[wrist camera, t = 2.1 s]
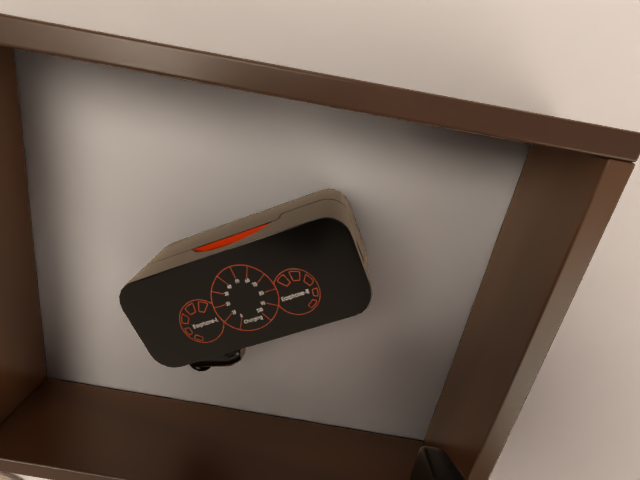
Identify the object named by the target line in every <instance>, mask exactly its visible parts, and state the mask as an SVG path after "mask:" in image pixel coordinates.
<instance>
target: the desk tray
mask: <svg viewBox="0 0 640 480" xmlns="http://www.w3.org/2000/svg"><path fill="white" fill-rule="evenodd" d="M14 48H15V49H20V50H25V51H31V52H36V53H42V54H47V55H53V56H58V57H63V58H69V59H74V60H80V61H85V62H90V63H96V64H101V65H107V66H112V67H117V68H123V69H128V70H134V71H139V72H145V73H150V74H155V75H161V76H166V77H172V78H177V79H182V80H188V81H193V82H199V83H204V84H209V85H215V86H220V87H226V88H231V89H237V90H242V91H247V92H253V93H258V94H264V95H269V96H274V97H280V98H285V99H291V100H296V101H301V102H307V103H312V104H318V105H323V106H329V107H334V108H339V109H345V110H350V111H356V112H361V113H366V114H372V115H377V116H383V117H388V118H393V119H399V120H404V121H410V122H415V123H421V124H426V125H431V126H437V127H442V128H448V129H453V130H458V131H464V132H469V133H475V134H480V135H485V136H491V137H496V138H502V139H507V140H513V141H518V142H523V143H529V144H532V145H531V148H530V151H529V154H528V156H527V159H526V162H525V165H524V167H523V170H522V173H521V176H520V178H519V181H518V184H517V187H516V189H515V192H514V195H513V198H512V200H511V203H510V206H509V209H508V211H507V214H506V217H505V220H504V222H503V225H502V228H501V231H500V233H499V236H498V239H497V242H496V244H495V247H494V250H493V253H492V255H491V258H490V261H489V264H488V266H487V269H486V272H485V275H484V277H483V280H482V283H481V286H480V288H479V291H478V294H477V297H476V299H475V302H474V305H473V308H472V310H471V313H470V316H469V319H468V321H467V324H466V327H465V330H464V332H463V335H462V338H461V341H460V343H459V346H458V349H457V352H456V354H455V357H454V360H453V363H452V365H451V368H450V371H449V374H448V376H447V379H446V382H445V385H444V387H443V390H442V393H441V396H440V398H439V401H438V404H437V407H436V409H435V412H434V415H433V418H432V420H431V423H430V426H429V429H428V431H427V434H426V437H425V440H424V442H423V441H417V440H411V439H405V438H399V437H393V436H387V435H381V434H375V433H369V432H363V431H358V430H352V429H346V428H340V427H334V426H328V425H322V424H316V423H310V422H304V421H298V420H292V419H287V418H281V417H275V416H269V415H263V414H257V413H251V412H245V411H239V410H233V409H227V408H221V407H216V406H210V405H204V404H198V403H192V402H186V401H180V400H174V399H168V398H162V397H156V396H150V395H145V394H139V393H133V392H127V391H121V390H115V389H109V388H103V387H97V386H91V385H85V384H79V383H74V382H68V381H62V380H56V379H50V378H46V377H47V372H46V362H45V353H44V343H43V333H42V323H41V313H40V303H39V294H38V284H37V274H36V264H35V254H34V244H33V234H32V225H31V215H30V205H29V195H28V185H27V175H26V165H25V156H24V146H23V136H22V126H21V116H20V106H19V97H18V87H17V77H16V67H15V57H14ZM639 155H640V132H634V131H629V130H623V129H618V128H613V127H607V126H602V125H597V124H591V123H586V122H581V121H575V120H570V119H564V118H559V117H554V116H548V115H543V114H538V113H532V112H527V111H521V110H516V109H511V108H505V107H500V106H495V105H489V104H484V103H479V102H473V101H468V100H462V99H457V98H452V97H446V96H441V95H436V94H430V93H425V92H420V91H414V90H409V89H403V88H398V87H393V86H387V85H382V84H377V83H371V82H366V81H360V80H355V79H350V78H344V77H339V76H334V75H328V74H323V73H318V72H312V71H307V70H301V69H296V68H291V67H285V66H280V65H275V64H269V63H264V62H259V61H253V60H248V59H242V58H237V57H232V56H226V55H221V54H216V53H210V52H205V51H199V50H194V49H189V48H183V47H178V46H173V45H167V44H162V43H157V42H151V41H146V40H140V39H135V38H130V37H124V36H119V35H114V34H108V33H103V32H98V31H92V30H87V29H81V28H76V27H71V26H65V25H60V24H55V23H49V22H44V21H39V20H33V19H28V18H22V17H17V16H12V15H6V14H1V13H0V471H3V472H9V473H15V474H21V475H27V476H33V477H39V478H46V479H52V480H410V475H411V471H412V469H413V466H414V463H415V460H416V458H417V455H418V452H419V450H420V448H421V447H422V446H430V447H436V448H440V449H442V450H444V451H445V452H446V453H447V455H448V456H449V457H450V459H451V460H452V461H453V463H454V464H455V465H456V467H457V468H458V469H459V471H460V472H461V473H462V474H463V476H464V477H465V478H466V480H488V479H489V477H490V475H491V473H492V471H493V468H494V466H495V464H496V462H497V460H498V458H499V456H500V453H501V451H502V449H503V447H504V445H505V443H506V441H507V438H508V436H509V434H510V432H511V430H512V428H513V426H514V423H515V421H516V419H517V417H518V415H519V413H520V411H521V408H522V406H523V404H524V402H525V400H526V398H527V396H528V393H529V391H530V389H531V387H532V385H533V383H534V381H535V378H536V376H537V374H538V372H539V370H540V368H541V366H542V363H543V361H544V359H545V357H546V355H547V353H548V351H549V348H550V346H551V344H552V342H553V340H554V338H555V336H556V333H557V331H558V329H559V327H560V325H561V323H562V321H563V318H564V316H565V314H566V312H567V310H568V308H569V306H570V303H571V301H572V299H573V297H574V295H575V293H576V291H577V288H578V286H579V284H580V282H581V280H582V278H583V276H584V273H585V271H586V269H587V267H588V265H589V263H590V261H591V258H592V256H593V254H594V252H595V250H596V248H597V246H598V243H599V241H600V239H601V237H602V235H603V233H604V231H605V228H606V226H607V224H608V222H609V220H610V218H611V216H612V213H613V211H614V209H615V207H616V205H617V203H618V201H619V199H620V196H621V194H622V192H623V190H624V188H625V186H626V184H627V181H628V179H629V177H630V175H631V173H632V171H633V169H634V166H635V164H634V163H632V162H636V161H637V159H638V157H639Z"/></svg>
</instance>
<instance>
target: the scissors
mask: <svg viewBox="0 0 640 480" xmlns="http://www.w3.org/2000/svg"><path fill="white" fill-rule="evenodd" d="M0 480H12V479H10V478H8V477H6V476H3V475H0Z"/></svg>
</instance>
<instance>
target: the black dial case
mask: <svg viewBox="0 0 640 480" xmlns="http://www.w3.org/2000/svg"><path fill="white" fill-rule="evenodd" d="M119 299H120V305H121V307H122V309H123V311H124V313H125V314H126V316H127V318H128V319H129V321H130V322H131V324H132V326H133V327H134V329H135V330H136V332H137V334H138V335H139V337H140V338H141V340H142V342H143V343H144V345H145V346H146V348H147V350H148V351H149V353H150V354H151V356H152V357H153V358H154V359H155V360H156V361H157V362H159V363H160V364H162V365H165V366H167V367H181V366H185V365H188V364H190V366H191V367H192V368H193V369H195V370H197V371H206V370H208V369H209V368H210V367H221V366H232V365H234V364H235V363H237V362H239V361H240V360H242V358H243V356H244V353H245V349H246V347H249V346H253V345H256V344H260V343H263V342H266V341H270V340H273V339H277V338H280V337H283V336H287V335H290V334H294V333H297V332H300V331H304V330H307V329H311V328H314V327H317V326H321V325H324V324H328V323H331V322H334V321H338V320H341V319H345V318H348V317H351V316H355V315H357V314H359V313H362V312H363V311H364V310H365V309H366V308H367V307H368V306H369V304H370V302H371V299H372V289H371V282H370V275H369V269H368V262H367V255H366V250H365V246H364V243H363V240H362V237H361V235H360V232H359V229H358V226H357V224H356V221H355V218H354V215H353V212H352V210H351V207H350V204H349V202H348V200H347V198H346V197H345V196H344V195H343V194H342V193H341V192H339V191H337V190H334V189H325V190H321V191H318V192H315V193H312V194H309V195H307V196H304V197H301V198H298V199H295V200H292V201H290V202H287V203H284V204H281V205H278V206H276V207H273V208H270V209H267V210H264V211H261V212H259V213H256V214H253V215H250V216H247V217H245V218H242V219H239V220H236V221H233V222H230V223H228V224H225V225H222V226H219V227H216V228H214V229H211V230H208V231H205V232H202V233H200V234H197V235H194V236H191V237H188V238H185V239H183V240H180V241H177V242H174V243H172V244H170V245H168V246H167V247H165V248H164V249H163V250H162V251H161V252H160V253H159V254H158V255H157V256H156V257H155V258H154V259H153V260H152V261H151V262H150V263H148V264H147V265H146V266H145V267H144V268H143V269H142V270H141V271H140V272H139V273H138V274H137V275H136V276H135V277H134V278H133V279H132V280H130V281H129V282H128V283H127V284H126V285H125V286H124V288H123V289H122V290H121V293H120V296H119Z"/></svg>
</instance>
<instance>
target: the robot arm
mask: <svg viewBox="0 0 640 480" xmlns="http://www.w3.org/2000/svg"><path fill="white" fill-rule="evenodd" d="M410 480H466V478H465V477H464V476H463V474H462V473H461V472H460V471H459V469H458V468H457V467H456V465H455V464H454V463H453V461H452V460H451V459H450V457H449V456H448V455H447V453H446V452H445V451H444V450H442V449H440V448H436V447H430V446H422V447H421V448H420V450H419V452H418V455H417V458H416V460H415V463H414V466H413V469H412V471H411V475H410Z"/></svg>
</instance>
